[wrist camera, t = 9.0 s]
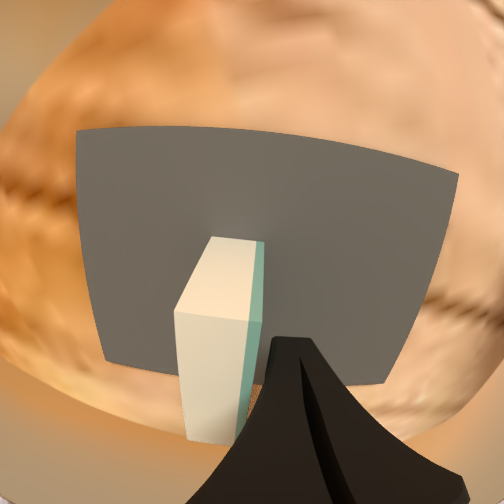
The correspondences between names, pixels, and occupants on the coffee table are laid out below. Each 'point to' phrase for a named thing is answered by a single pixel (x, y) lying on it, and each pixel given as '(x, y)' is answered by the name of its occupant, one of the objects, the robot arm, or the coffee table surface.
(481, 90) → the coffee table surface
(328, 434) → the robot arm
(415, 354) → the coffee table surface
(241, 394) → the tile
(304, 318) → the mat
